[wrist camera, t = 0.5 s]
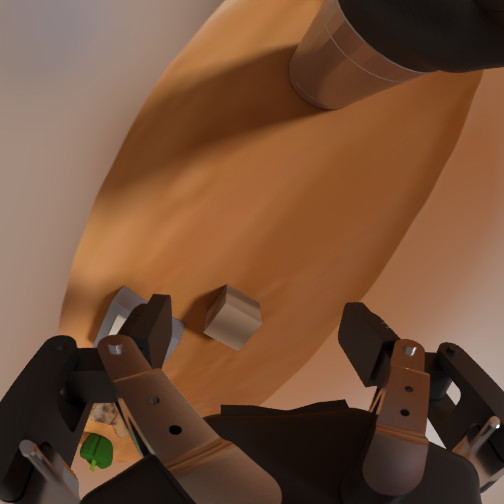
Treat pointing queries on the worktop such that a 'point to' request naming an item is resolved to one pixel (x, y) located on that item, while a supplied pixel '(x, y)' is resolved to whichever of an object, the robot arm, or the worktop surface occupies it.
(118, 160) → the worktop surface
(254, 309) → the tan cube
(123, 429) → the lion figurine
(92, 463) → the bell pepper
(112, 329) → the base brick
